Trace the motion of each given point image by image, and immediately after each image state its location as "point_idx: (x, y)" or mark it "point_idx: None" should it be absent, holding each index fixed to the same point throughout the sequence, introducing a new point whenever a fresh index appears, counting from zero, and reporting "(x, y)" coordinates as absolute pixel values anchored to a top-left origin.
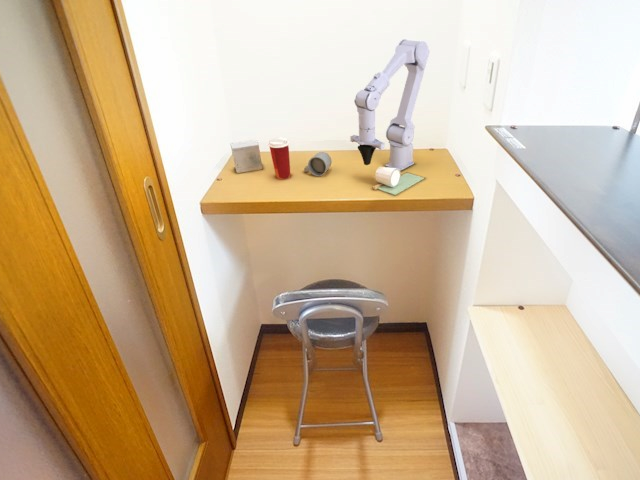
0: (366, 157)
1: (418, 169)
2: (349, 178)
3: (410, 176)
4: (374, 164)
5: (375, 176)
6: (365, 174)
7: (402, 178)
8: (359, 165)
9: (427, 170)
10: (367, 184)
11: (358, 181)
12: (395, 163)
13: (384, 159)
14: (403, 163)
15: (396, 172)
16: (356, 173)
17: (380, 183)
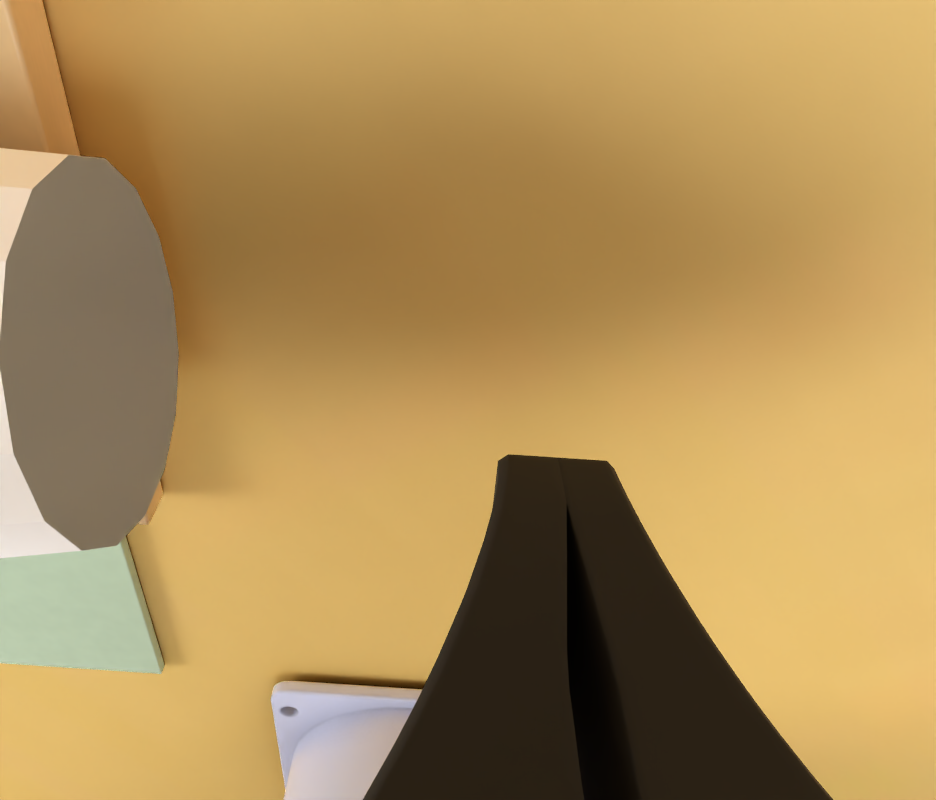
0: (459, 666)
1: (157, 762)
2: (914, 69)
3: (27, 620)
4: None
5: (30, 175)
6: (663, 400)
7: None
8: (929, 591)
9: (68, 776)
10: (328, 37)
11: (616, 52)
12: (366, 767)
13: None
14: (286, 795)
15: None
16: (855, 354)
17: None
